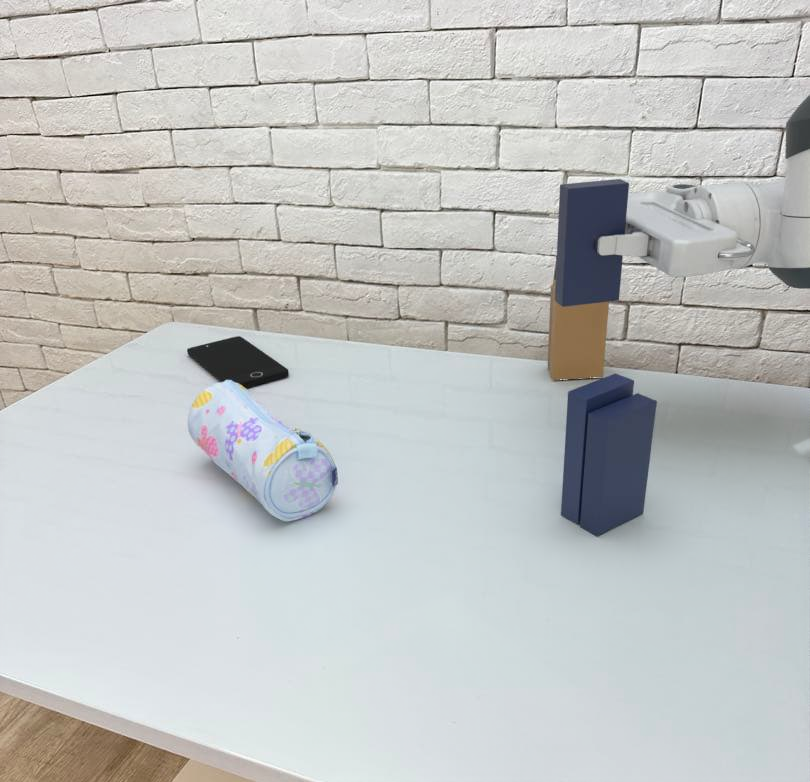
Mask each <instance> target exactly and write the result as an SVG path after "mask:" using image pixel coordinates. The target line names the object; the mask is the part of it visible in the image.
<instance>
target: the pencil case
mask: <svg viewBox="0 0 810 782" xmlns="http://www.w3.org/2000/svg"><path fill="white" fill-rule="evenodd" d="M187 429H188V433H189V436H190V438H191V439H192V440H193V442H194V443H195V445H197V447H199V449H201V450H202V451H203V452H204V453H205V454H206V455H207V456H208V457H209V459H211V460H212V461H213V462H214V463H215V464H216V465H217V466H218V467H219V468H220V469H221V470H223V471H224V472H225V473H227V474H228V475H229V476H230V477H231V478H232V479H233V480H234V481H236V482H237V483H238V484H239V485H240V486H242V487H243V489H245V490H246V492H248V493H249V494H250V495H251V496H253V497H254V498H255V499H256V500H257V502H259V503H260V504H261V505H262V506H263V508H264V509H265V511H266V512H268V513H269V514H270V515H271V516H273V517H274V518H276V519H279V520H280V521H282V522H293V521H296V520H300V519H303V518H306V517H309V516H311V515H313V514H315V513H317V512H319V511H320V510H321V509H322V508H323V507H325V506H326V505H327V504H328V503H329V501H330V500H331V498H332V497H333V495H334V493H335V490H336V488H337V485H339V475H338V468H337V466H336V463H335V461H334V458H333V456H332V455H331V453H330V452H329V450H328V448H326V446H325V445H324V444H323V443H322V442H321V441H320V440H319V439H318V438H315V437H314V435H313V434H312V433H311V432H308V431H305V430H302V429H300V428H299V427H297V426H294V427H293V428H292V429H290V428H289V427H288V426H287V425H285V424H284V423H283V422H282V421H281V420H279V418H277V417H276V416H275V415H274V414H273V413H272V412H271V411H270V410H269V409H268V408H266V407H265V406H263V404H261V402H259V401H258V399H256V398H254V397H253V396H252V394H251V393H250V391H249V390H248V389H247V388H245V387H243V386H242V385H240V384H239V383H235V382H233V381H232V380H225V381H224V382H221V381H219V382H215V383H214V384H212V385H209V386H207V387H205V388H204V389H202V390H200V392H198V394H197V395H196V397H194V399H193V401H192V403H191V405H190V408H189V410H188V415H187Z"/></svg>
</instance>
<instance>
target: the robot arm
mask: <svg viewBox="0 0 810 782" xmlns="http://www.w3.org/2000/svg"><path fill="white" fill-rule="evenodd" d="M784 150H785V152H784V153H785V154H784V155H785V157H784V159H785V160H786V164H785V173H784V177H783V178H775V179H772V180H769V181H767V182H765V183H764V182H763V183H760V184H754V183H752V182H751V183H750V182H745V181H744V182H743V181H742V182H741V181H740V182H731V183H720V184H718V183H715V184H714V183H713V184H702V185H694V184H686V183H685V184H684V183H676V184H675V183H674V184H669V185H667V186H666V188H665V191H663V190H662V191H661V190H659V191H658V190H657V191H648V192H640V193H634V194H628V203H627V214H626V225H625V235H613V234H604V235H602V234H601V235H597V236H596V237H595V241H594V242H595V245H594V250H595V251H596V252H597V253H599V254H600V255H602V256H603V255H613V254H616V255H623V257H624V256H625V257H634V258H639V259H640V260H643V261H644V262H646V263H647V264H649V265H650V266H652V267H654V268H656V269H657V270H659V271H661V272H662V273H664V274H666V275H667V276H669V277H674V278H675V277H676V278H689V277H690V278H691V277H697V276H702V275H708V274H709V275H710V274H713V273H714V274H716V273H721V272H724V271H730V270H739V269H743V268H745V267H748V266H750V265H754V264H764V265H767V269H768V270H769V271H770V272H771V273H772V274H773V275H774V277H776V278H778V280H780V281H781V282H783V284H785V285H786V286H788V287H790V288H793V289H801V290H802V289H804V290H805V289H806V290H807V289H810V94H808V96H806V97H805V99H804V100H803V101H802V102H801V103H800V104H799V105H798V107H796V109H795V110H794V111H793V112H792V114H791V115H790V117H789V118H788V120H787V121H786V123H785V149H784Z"/></svg>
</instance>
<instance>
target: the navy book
mask: <svg viewBox="0 0 810 782" xmlns="http://www.w3.org/2000/svg"><path fill="white" fill-rule="evenodd" d="M629 189H630V182H628V181H626V180H623V179H621V178H616V179H615V178H613V179H606V180H594V181H593V180H592V181H584V182H583V181H581V182H572V183H561V184H560V185H559V197H558V200H559V202H558V217H557V218H558V219H557V221H558V222H557V239H556V240H557V243H556V261H555V262H556V264H555V265H556V266H555V280H556V283H555V301H556V302H557V303H558V304H559V305H561V306H562V307H566V306H574V305H583V304H592V303H601V302H609V303H610V302H618V301H620V295H621V294H620V293H621V283H622V282H621V281H622V271H623V270H622V269H623V257H624V256H623V255H616V254H613V255H603V256H602V255H600V254H599V253H597V252H596V251H595V250H594V245H595V242H594V241H595V237H596V236H597V235H601V234H602V235H604V234H613V235H625V225H626V214H627V203H628V195H629V191H630V190H629Z"/></svg>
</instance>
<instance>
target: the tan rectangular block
mask: <svg viewBox="0 0 810 782" xmlns="http://www.w3.org/2000/svg"><path fill="white" fill-rule="evenodd" d="M555 283H556V279H553V284H551V285H550V297H549V298H550V301H549V319H548V320H549V321H548V322H549V323H548V324H549V325H548V342H547V343H548V346H547V365H546V367H547V366H548V368H549V370H548V372H549V371H550V372H549V376H550V375H551V376H550V378H552V379H551V380H560V379H562V380H563V379H579V378H581V380H583V379H582V378H590V377H591V378H593V377H603V378H604V367H605V356H606V344H607V331H608V319H609V318H608V317H609V309H610V302H601V303H592V304H583V305H574V306H566V307H562V306H561V305H559V304H558V303H557V302H556V301H555ZM548 368H547V369H548Z"/></svg>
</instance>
